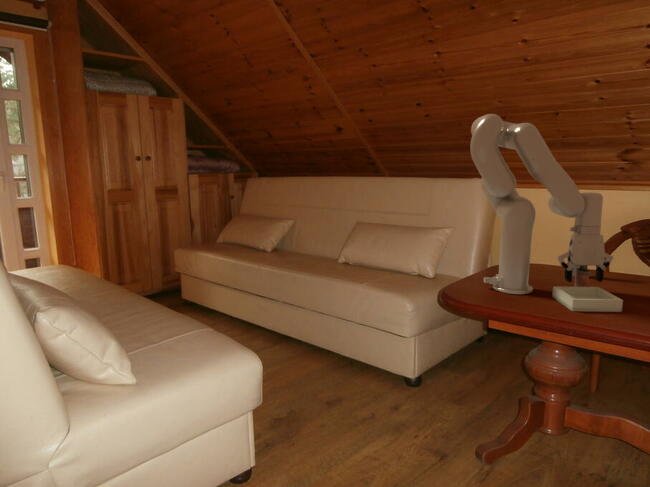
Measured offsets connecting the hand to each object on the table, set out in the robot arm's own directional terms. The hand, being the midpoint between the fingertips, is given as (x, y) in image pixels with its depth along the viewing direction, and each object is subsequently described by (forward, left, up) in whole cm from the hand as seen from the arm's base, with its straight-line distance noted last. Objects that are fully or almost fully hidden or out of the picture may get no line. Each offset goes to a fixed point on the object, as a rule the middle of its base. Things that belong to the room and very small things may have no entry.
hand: (583, 281), depth 155 cm
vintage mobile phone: (+7, +20, -4) cm, 22 cm away
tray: (-6, -14, -4) cm, 15 cm away
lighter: (-1, 0, -4) cm, 4 cm away
